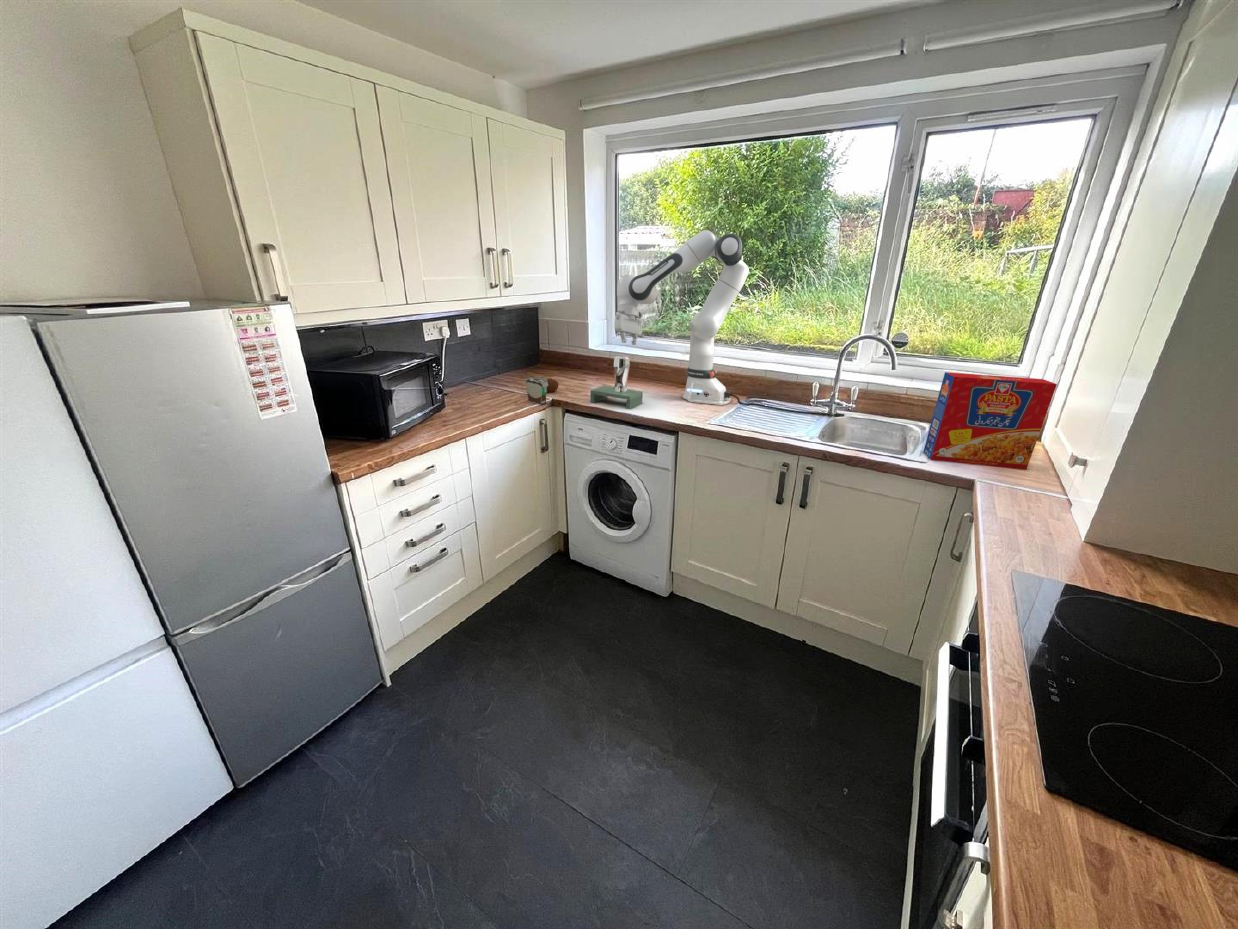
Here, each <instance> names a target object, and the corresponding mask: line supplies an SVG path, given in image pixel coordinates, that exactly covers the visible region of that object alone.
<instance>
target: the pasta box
mask: <svg viewBox="0 0 1238 929" xmlns="http://www.w3.org/2000/svg"><path fill="white" fill-rule="evenodd" d="M1057 385H1058V383H1055V382H1052V381H1050V380H1047V379H1043V378H1034V377H1022V376H1021V377H1019V376H1007V375H1006V376H1005V375H989V374H977V373H963V372H949V371H948V372H947V371H945V372H944V374H943V378H942V381H941V386H940V389H939V393H938V395H937V400H936V402H935V407H934V411H933V414H932V417H931V421H930V426H929V429H928V433H927V436H926V440H925V443H924V448H923V450H922V453H923V454H924V455H925V456H926V457H927V458H928V459H929V460H930V461H938V462H945V463H956V464H957V463H958V464H966V465H977V466H986V467H993V468H994V467H996V468H1004V469H1005V468H1006V469H1015V470H1026V471H1027V469H1028V466H1029V463H1030V461H1031V458H1032V455H1033V454H1034V453H1033V452H1034V450H1035V448H1036V444H1037V441H1038V438H1039V437H1040V433H1041V430H1042V427H1043V425H1044V422H1045V420H1046V416H1047V414H1048V410H1049V408H1050V405H1051V402H1052V399H1053V397H1054V394H1055V391H1056V388H1057Z"/></svg>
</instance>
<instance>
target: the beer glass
mask: <svg viewBox="0 0 1238 929" xmlns="http://www.w3.org/2000/svg"><path fill="white" fill-rule="evenodd" d="M612 368H613V369H612V370H613V378H614V386H613V387H614V392H617V393H626V392H627V389H628V379H629V374H630V357H629V356H625V355H615V356H613V367H612Z"/></svg>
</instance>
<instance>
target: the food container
mask: <svg viewBox="0 0 1238 929" xmlns="http://www.w3.org/2000/svg"><path fill="white" fill-rule="evenodd" d="M546 379H547V378H542V377H526V378H525V385H526V393H527V402H530V403H533V404H536V405H538V406H544V405H546V403H547V393H548V392H547V386H548V382H547V380H546Z"/></svg>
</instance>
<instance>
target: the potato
mask: <svg viewBox="0 0 1238 929" xmlns="http://www.w3.org/2000/svg"><path fill="white" fill-rule="evenodd" d="M545 379H546V380H547V382H548V386H547V392H546V393H553V392H556V391H558V389H559V382H558V380H556V379H553V378H545Z"/></svg>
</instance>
